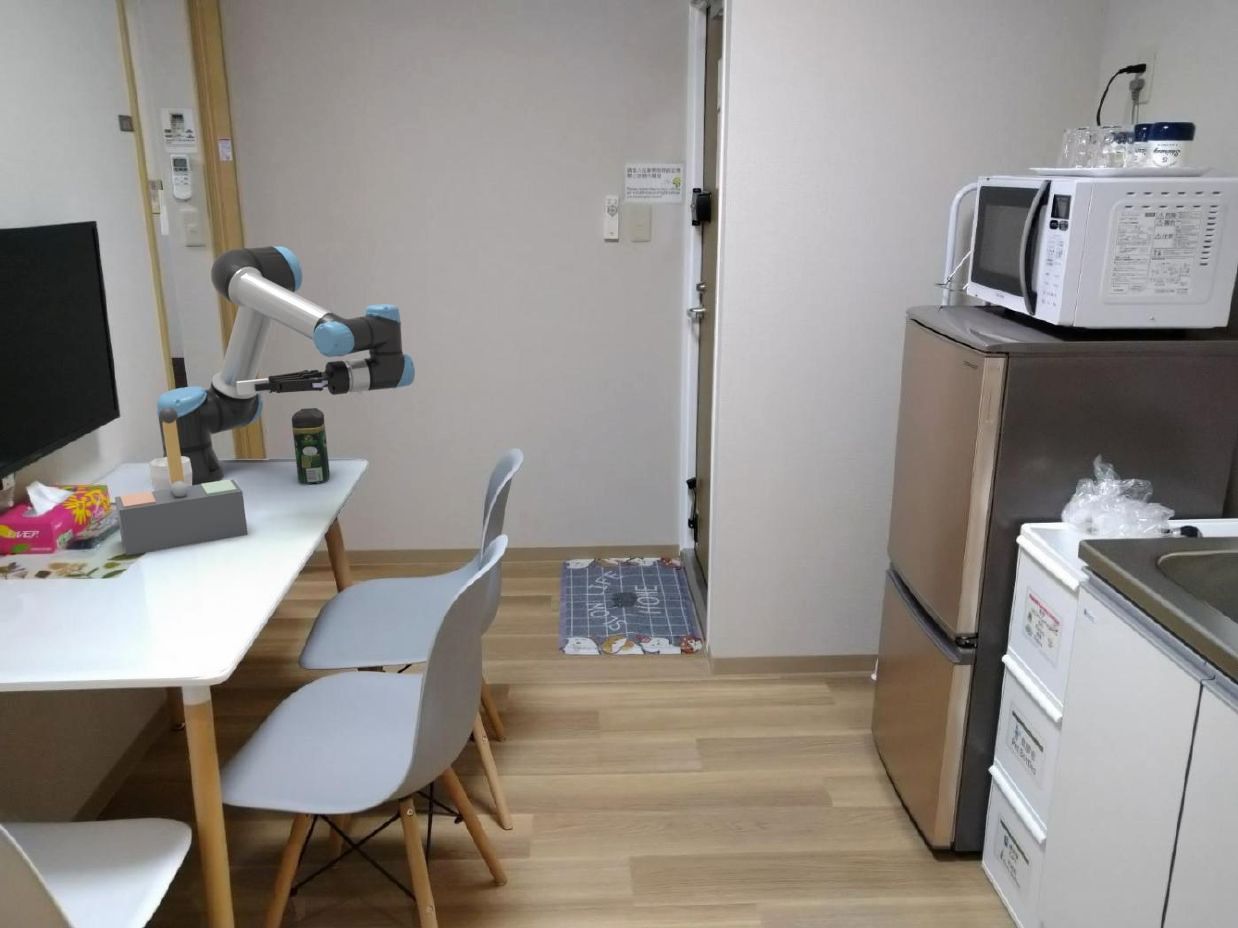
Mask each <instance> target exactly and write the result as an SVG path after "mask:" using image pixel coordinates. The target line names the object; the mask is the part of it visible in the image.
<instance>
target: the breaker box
mask: <svg viewBox="0 0 1238 928" xmlns="http://www.w3.org/2000/svg"><path fill="white" fill-rule="evenodd" d="M187 488H188V491H187V493H186V495H184V496H181V497H178V496H175V495H174V494H173V492H172V490H171V489H166V490H159V491H154V490H153V491H152V490H151V491H143V492H138V493H137V492H136V493H131V494H125V495H124V494H123V495H119V496H114V500H115V501H114V502H115V507H116V512H117V513H116V515H117V521H118V526H119V533H120V538H121V543H122V546H123V551H124V553H125V556H126V557H128V556H133V555H134V556H135V555H139V554H144V553H149V552H157V551H162V550H167V549H173V548H179V547H185V546H189V545H195V544H202V543H206V542H211V541H217V540H223V539H228V538H233V537H239V536H240V537H241V536H245V535H248V527H247V518H246V517H247V516H246V510H245V509H246V508H245V502H244V501H245V500H244V492H243V490H242V488H241V487H240V486H239V485H238V483H237V481H235V479H224V480H223V479H222V480H217V481H215V482H210V483H203V484H199V485H193V486H187Z"/></svg>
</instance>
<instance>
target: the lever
mask: <svg viewBox="0 0 1238 928" xmlns="http://www.w3.org/2000/svg"><path fill="white" fill-rule="evenodd" d="M177 418H178V415H177V412H176V411H175V410H174V409H173V408H169V407H167V408H163V409H162V410H161V411H160V412H159V418H158V420H159V419H160V421H161V422H162V424H163V431H164V438H165V446H166V453H167V460H168V467H169V474H170V479H169V482H168V483H169V486H170V488H171V490H172V492H173V494H174V495H175V496H178V497H181V496H184V495H186V493H187V491H188V488H187V486H186V484H185V482H184V476H183V469H182V462H181V454H180V447H179V440H178V433H177V425H176V420H177Z"/></svg>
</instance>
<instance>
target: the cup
mask: <svg viewBox="0 0 1238 928" xmlns="http://www.w3.org/2000/svg"><path fill="white" fill-rule="evenodd" d="M181 462H182V469H183V476H184V482H185V484H186V486H192V468H191V463H190V459H189V458H188V457H185V456H181ZM148 466H149V467H148V468H149V478H150V480H151V481H150V482H151V484H152V485H151V486H152V487H153V491H159V490H166V489H171V488H170V486H169V483H168V482H169V479H170V474H169V467H168V460H167V457H163V456H162V457H158V458H155V459H153V460H150V461H149V462H148Z"/></svg>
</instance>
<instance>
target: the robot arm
mask: <svg viewBox="0 0 1238 928" xmlns="http://www.w3.org/2000/svg"><path fill="white" fill-rule="evenodd" d="M210 272H211V273H210V278H211V282H212V285H213V287H214V289H215V291H216V292H217V293H218V294H219V295H220V296H221V297H222V298H224V299H225V300H226V301H228V302H230V303H232V304H234V305H235V306H238V309H237V313H236V316H235V321H234V324H233V327H232V331H231V334H230V338H229V341H228V346H227V348H226V352H225V356H224V359H223V362H222V363H223V364H222V367H221V370H220V372H217V373H215V374H214V375H213V376H212V380H211V383H210V386H209V388H208V389H205V388H204V387H201V386H196V385H195V386H187V387H186V386H185V387H179V388H174V389H171V390H168V391H166V392H164V393H162V394H161V395H160V396H159V397H158V399H157V401H156V405H157V406H156V409H157V413H156V415H157V418H158V423H159V429H160V437H161V444H162V451H163V455H162V458H163V457H167V453H166V446H165V438H164V431H163V424H162V422H161V421H160V419H159V412H160V411H161V410H162V409H163V408H167V407H169V408H173V409H174V410H175V411H176V412H177V415H178V418H177V420H176V425H177V433H178V440H179V447H180V454H181V456H185V457H188V458H189V459H190V463H191V468H192V486H193V485H199V484H203V483H210V482H216V481H220V479H222V478H223V477H224V471H223V466H222V464H221V462H220V460H219V458H218V457H217V454H216V452H215V450H214V448H213V441H212V435H215V434H218V433H224V432H226V431H231V430H235V429H241V428H244V427H247V426H249V425H251V424H253V423H255V422H256V421H257V420H258V419H259V417H260V416H261V415H262V412H263V407H264V405H263V404H264V402H263V400H262V398H263V396H262V393H269V394H272V393H276V394H281V393H297V392H312V391H313V392H315V391H317V392H318V391H319V392H322V391H324V388H327V390H328V392H329V393H330V394H331V395H333V396H336V395H343V394H344V395H345V394H347V393H349V392H350V394H351V393H358V395H362V394H363V392H367V391H368V392H369V391H378V390H387V389H398V388H402V387H409V386H411V385H412V384H413V382H414V380H415V374H416V369H415V366H414V361H413V359H412V357H411V355H409V354H407V353H406V354H404V352H403V343H402V340H403V339H402V328H401V327H402V321H401V315H400V311H399V310H400V309H399V307H398V306H397V305H395V304H389V303H388V304H387V303H382V304H381V303H379V304H371V305H368V306H367V307H366V308H365V316H358V317H352V318H345V317H342V316H340V315H338V314H336V313H334V312H331V311H329V310H328V309H326V308H324V307H322V306H320V305H318V304H316V303H314V302H312V301H310V300H308V299H306V298H304V297H302V296H300V295H298V294H297V293H295V292H297V291H298V290H300V288H301V287H302V283H303V270H302V267H301V265H300V261H299V259H298V258H297V256H296V255H295V254H294V253H293V252H292V251H291V250H290V249H289V248H287V247H285V246H274V245H268V246H264V247H248V248H245V247H244V248H233V249H229V250H226V251H224V252H222V253H221V254H219V255H218V257H216V258H215V260H214V261H213V263H212V267H211V271H210ZM274 321H276V322H278V323H280V324H281V325H283V326H285V327H288V328H289V329H291V330H293V331H294V332H297V333H299V334H301V335H303V337H306V338H308V339H310V340H312V341H313V343H314V346H315V348H316V349H317V350H318V351H319V353H320V354H321V355H322V356H324V357H328V358H333V357H344V356H347V355H351V354H355V353H360V352H364V351H368V354H369V357H366V358H365V357H364V358H354V359H353V358H352V359H345V361H343V360H333V361H328V362H326V364H325V370H324V371H319V369H311V370H309V369H308V370H307V369H304V370H301V371H297V372H291V373H290V372H289V373H283V374H276V375H270V376H268V377H267V378H260V379H259V378H258V379H256V378H257V375H258V372H259V368H260V365H261V361H262V358H263V356H264V351H265V348H266V344H267V342H268V338H269V336H270V332H271V328H272V325H273V322H274Z"/></svg>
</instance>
